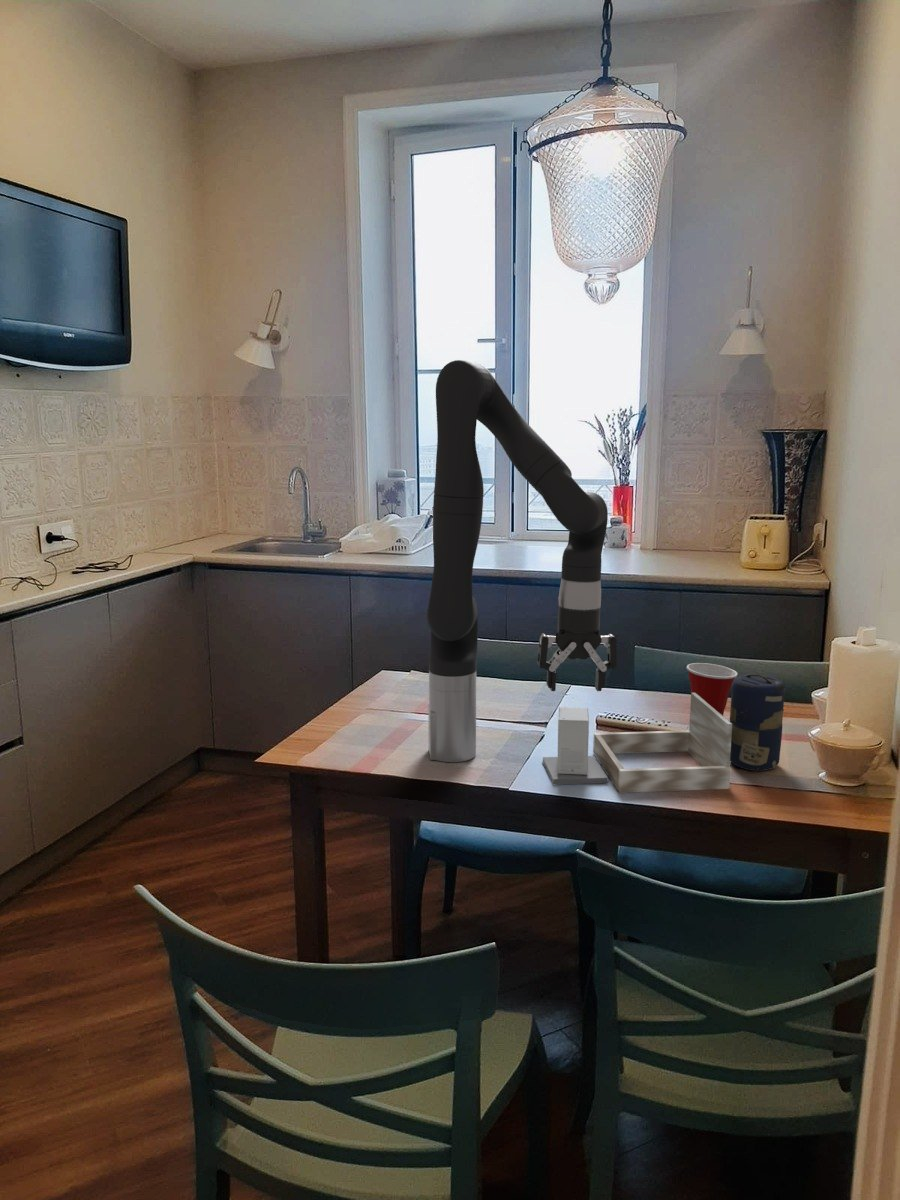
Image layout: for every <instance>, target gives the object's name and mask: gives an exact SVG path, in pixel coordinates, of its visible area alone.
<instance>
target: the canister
mask: <svg viewBox="0 0 900 1200" xmlns="http://www.w3.org/2000/svg"><path fill="white" fill-rule="evenodd" d="M785 694H786V686H785V683H784V682H783V681H782V680H780V679H779V678H777V677H774V676H769V675H763V674H760V673H758V674H757V673H749V674H741V675H737V677H735V678H734V680H733V683H732V685H731V697H730V698H731V699H730V711H729V722H730V723H732V737H731V753H730V763H731V764H733V765H734V766H737V768H741V769H744V770H750V771H768V770H771V769H774V768H776V767H777V766H778V765H779V763H780V759H781V746H782V738H783V737H782V736H783V720H784V719H783V716H784V706H785V705H784V704H785V696H786V695H785Z"/></svg>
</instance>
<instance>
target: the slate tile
mask: <svg viewBox="0 0 900 1200" xmlns="http://www.w3.org/2000/svg"><path fill="white" fill-rule="evenodd" d="M542 764H543V766H544V768H545V770H546V772H547V774H548V777H549V779H550V781H551V783H552V784H557V785H577V784H578V785H581V784H586V785H587V784H608V782H609V781H608V780H609V779H608V778H609V776H608V774H607V773H606V771H605V770H604V768H603V767H602V765H601V764H600V762H599V761H598V759H597V758H596V756H595V755H588V774H587V775H579V774H558V756H544V757H542Z"/></svg>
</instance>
